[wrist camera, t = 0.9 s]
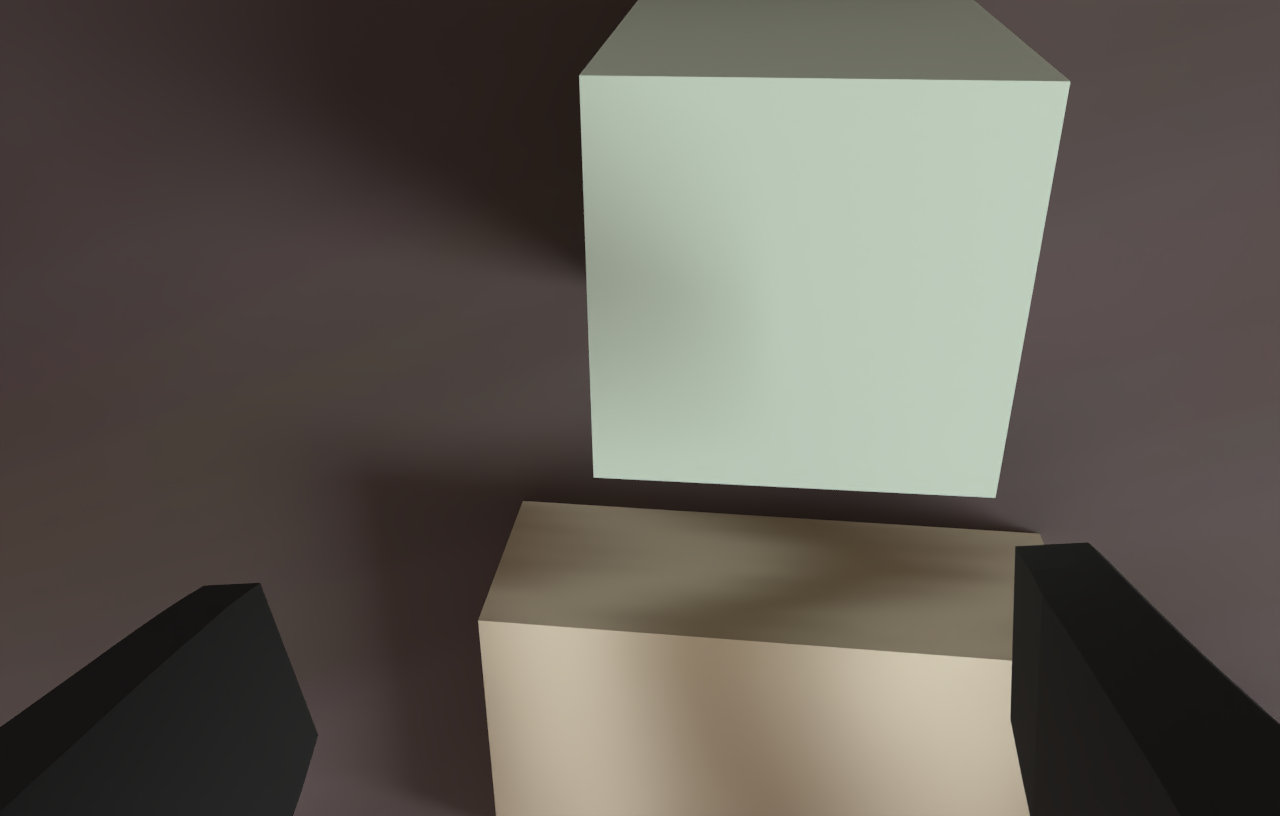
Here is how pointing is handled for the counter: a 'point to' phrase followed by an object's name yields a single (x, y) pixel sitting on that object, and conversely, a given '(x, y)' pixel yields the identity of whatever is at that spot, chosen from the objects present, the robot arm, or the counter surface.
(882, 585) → the birch base
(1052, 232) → the counter surface
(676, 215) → the sage block
